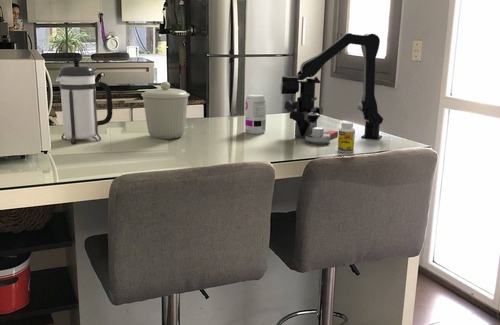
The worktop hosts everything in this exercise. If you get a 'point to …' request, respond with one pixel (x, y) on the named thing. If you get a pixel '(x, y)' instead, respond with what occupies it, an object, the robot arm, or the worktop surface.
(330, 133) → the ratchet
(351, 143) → the supplement bottle
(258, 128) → the supplement can
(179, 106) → the canister
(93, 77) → the coffee press
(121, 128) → the worktop surface
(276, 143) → the worktop surface
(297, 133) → the brushed grey cube
